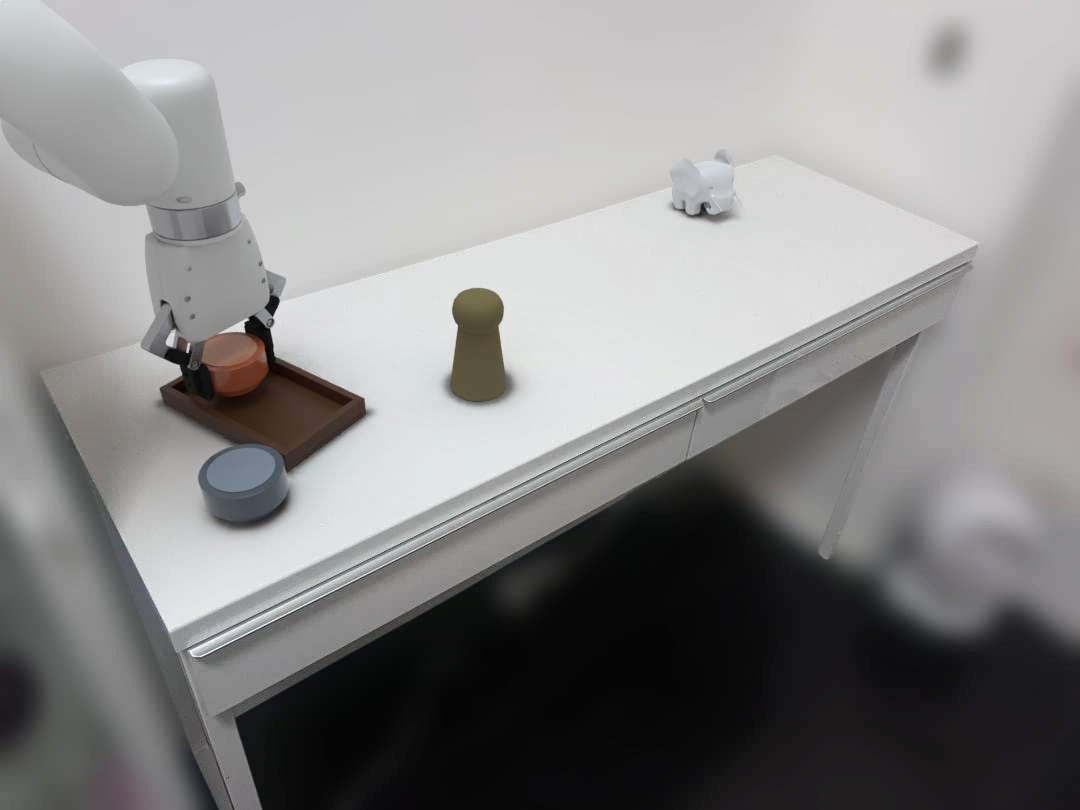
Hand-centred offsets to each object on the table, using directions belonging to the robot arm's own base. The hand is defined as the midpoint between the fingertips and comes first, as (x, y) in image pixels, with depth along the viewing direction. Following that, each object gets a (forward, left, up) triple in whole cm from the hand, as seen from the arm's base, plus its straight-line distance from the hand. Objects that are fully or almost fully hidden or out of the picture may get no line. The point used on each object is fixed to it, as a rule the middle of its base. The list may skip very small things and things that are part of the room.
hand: (233, 375), depth 82 cm
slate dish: (-10, -13, -2) cm, 17 cm away
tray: (0, -4, -2) cm, 5 cm away
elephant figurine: (+73, -20, -3) cm, 76 cm away
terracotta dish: (0, 0, -1) cm, 1 cm away
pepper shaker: (+16, -19, -3) cm, 25 cm away
